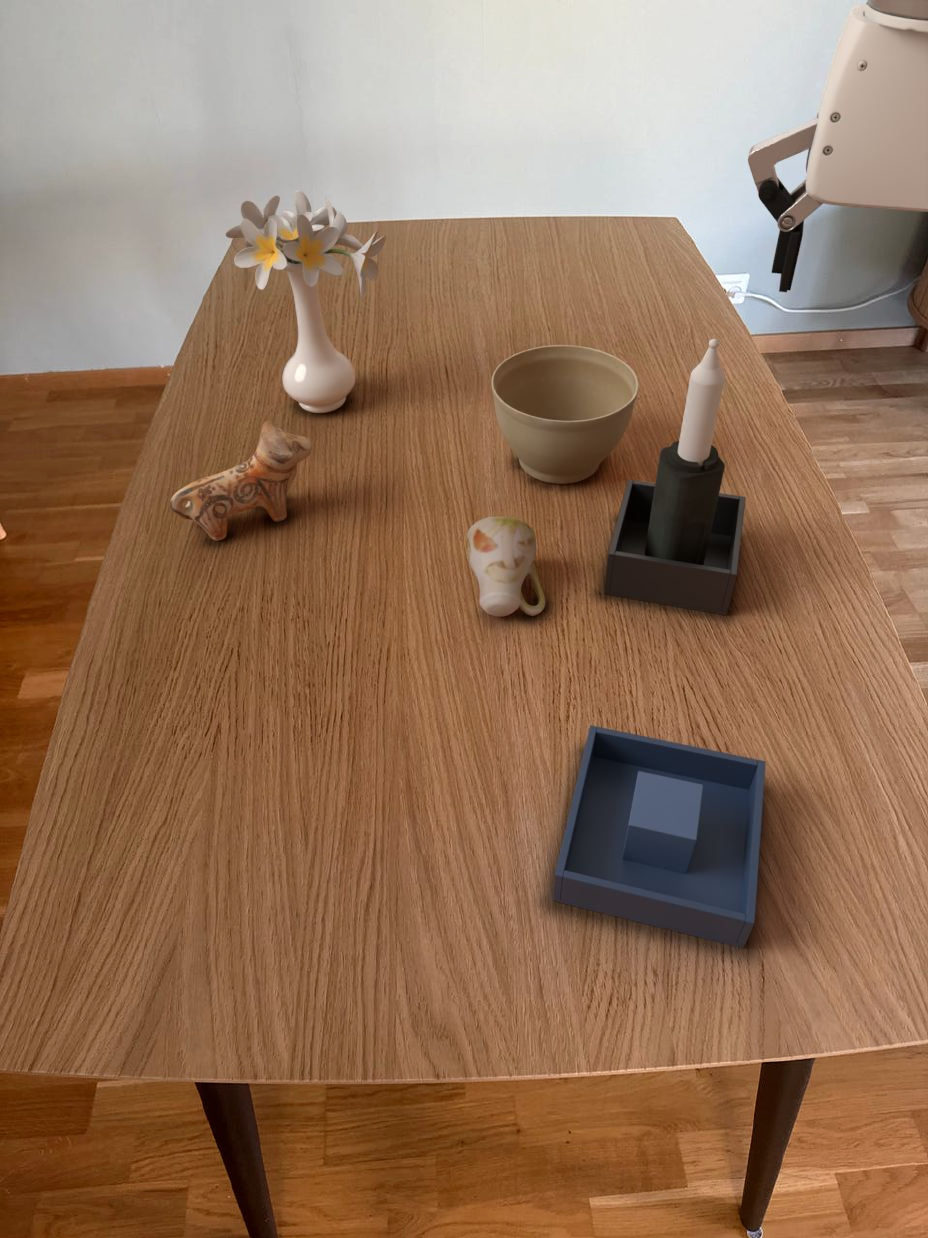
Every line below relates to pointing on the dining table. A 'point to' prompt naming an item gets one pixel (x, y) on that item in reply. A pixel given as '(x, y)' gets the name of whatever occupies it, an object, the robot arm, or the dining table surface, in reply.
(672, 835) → the blue block
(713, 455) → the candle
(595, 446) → the planter bowl
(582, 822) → the blue bin
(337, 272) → the flower vase
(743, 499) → the charcoal bin
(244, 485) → the figurine
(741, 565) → the dining table surface
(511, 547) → the mug
